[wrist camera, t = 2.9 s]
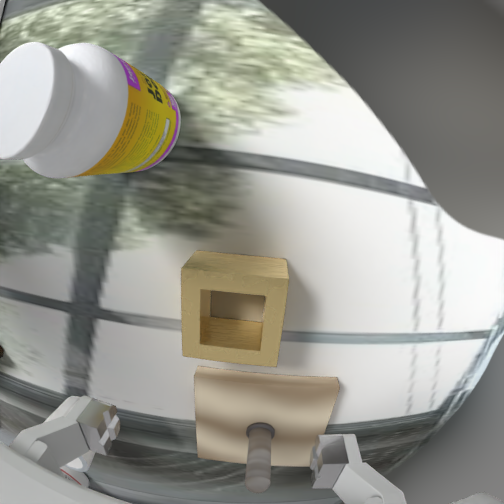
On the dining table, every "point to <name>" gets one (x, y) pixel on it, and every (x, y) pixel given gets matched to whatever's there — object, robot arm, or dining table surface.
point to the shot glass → (85, 460)
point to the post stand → (260, 419)
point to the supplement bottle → (82, 112)
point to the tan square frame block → (229, 330)
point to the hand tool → (1, 352)
